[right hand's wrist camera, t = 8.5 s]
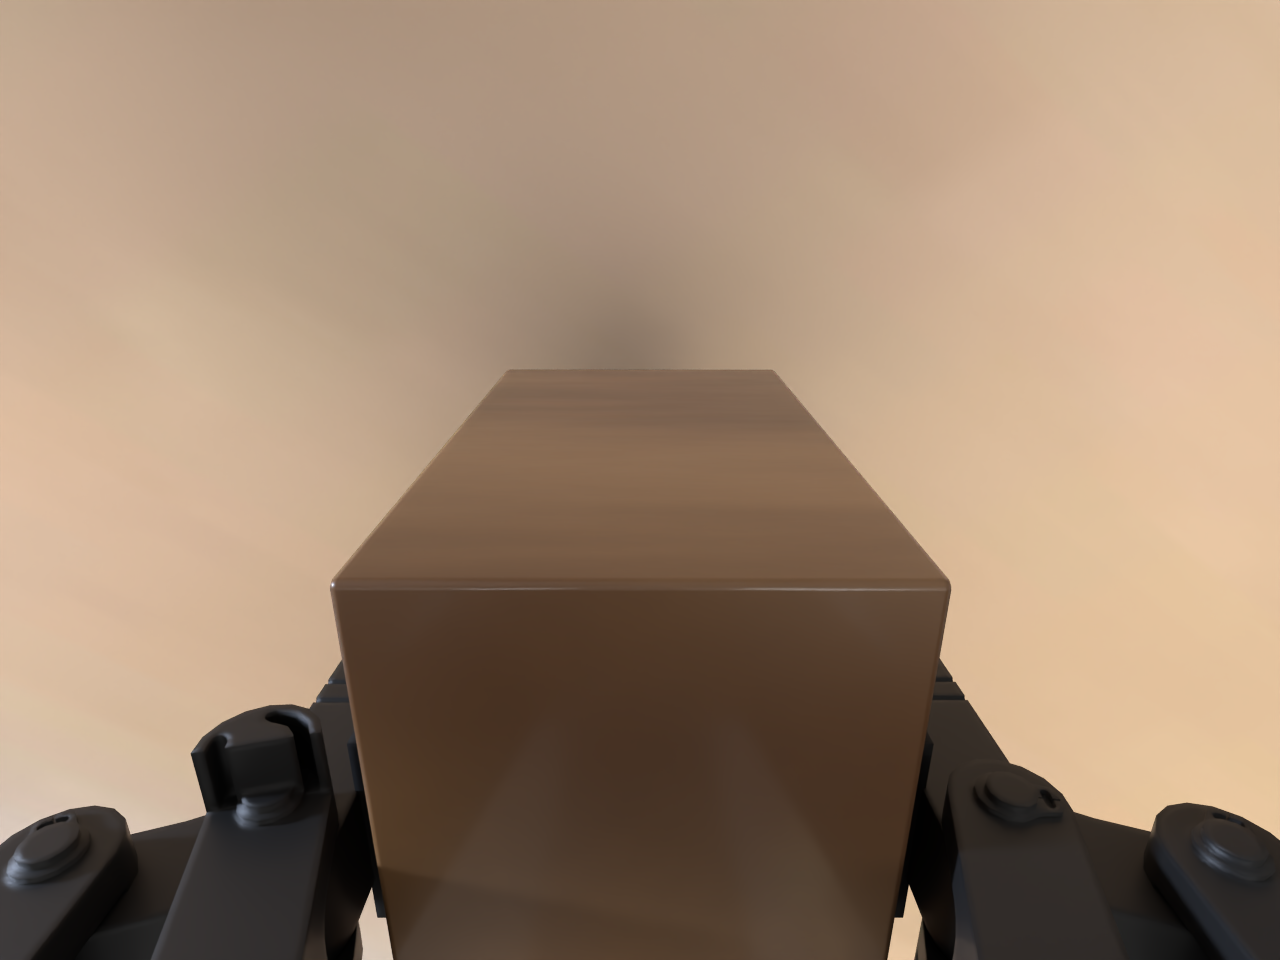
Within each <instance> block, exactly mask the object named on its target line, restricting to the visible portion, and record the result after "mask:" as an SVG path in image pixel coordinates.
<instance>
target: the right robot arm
mask: <svg viewBox="0 0 1280 960" xmlns="http://www.w3.org/2000/svg"><path fill="white" fill-rule="evenodd" d="M191 756H192V760H193V764H194V767H195V771H196V775H197V778H198V782H199V786H200V789H201V793H202V797H203V800H204V804H205V808H206V811H207V813H206V815H205V816H202V817H199V818H195V819H192V820H189V821H186V822H181V823H177V824H173V825H169V826H165V827H160V828H156V829H152V830H148V831H144V832H139V833H135V834H131V835H130V831H129V828H128V825H127V822H126V819H125V818H124V817H123V816H122V815H121V814H120V813H119V812H117V811H116V810H115V809H113V808H107V807H100V806H89V807H82V808H75V809H69V810H66V811H63V812H60V813H58V814H55V815H52V816H49V817H47V818H44V819H41V820H39V821H37V822H35V823H34V824H32V825H30V826H28V827H26V828H25V829H23V830H21V831H19V832H17V833H16V834H14V835H12V836H11V837H10V838H8V839H7V840H6V841H5V842H3V843H2V844H1V845H0V960H362V952H363V947H362V940H361V932H360V927H359V922H358V920H359V918H360V915H361V913H362V910H363V908H364V905H365V903H366V900H367V898H368V895H369V893H370V890H371V888H372V889H373V895H374V901H375V906H376V912H377V918H386V914H385V908H384V902H383V896H382V890H381V884H380V878H379V872H378V867H377V861H376V855H375V849H374V843H373V837H372V831H371V826H370V820H369V814H368V808H367V802H366V796H365V790H364V784H363V779H362V773H361V767H360V761H359V755H358V749H357V743H356V737H355V732H354V726H353V720H352V714H351V708H350V702H349V696H348V691H347V685H346V679H345V673H344V667H343V661H342V660H341V662H340V663H339V665H338V666H337V668H336V669H335V671H334V672H333V674H332V675H331V677H330V678H329V682H328V684H325V686H324V687H323V689H322V690H321V692H320V693H319V695H318V696H317V700H316V703H313V704H312V706H311V707H310V709H307V708H304V707H300V706H296V705H269V706H265V707H262V708H258V709H254V710H250V711H246V712H244V713H241V714H239V715H237V716H235V717H233V718H231V719H229V720H226V721H224V722H222V723H221V724H219V725H218V726H217V727H215V728H214V729H213V730H211V731H210V732H209V733H208V734H206V735H205V736H204V737H202V739H201V740H200V741H199V743H198V744H197V746H196V747H195V748H194V750H193V751H192V752H191ZM909 885H910V888H911V890H912V893H913V895H914V898H915V900H916V903H917V905H918V908H919V910H920V913H921V915H922V922H921V927H920V932H919V938H918V943H917V948H916V953H915V959H914V960H1280V840H1279V839H1277V838H1276V837H1275V836H1274V835H1272V834H1271V833H1270V832H1268V831H1266V830H1264V829H1263V828H1261V827H1259V826H1257V825H1255V824H1254V823H1252V822H1250V821H1248V820H1246V819H1245V818H1243V817H1241V816H1238V815H1235V814H1232V813H1229V812H1227V811H1224V810H1221V809H1218V808H1215V807H1213V806H1206V805H1199V804H1192V803H1182V804H1175V805H1169V806H1167V807H1165V808H1164V809H1163V810H1162V811H1161V812H1160V813H1159V814H1157V815H1156V818H1155V821H1154V824H1153V827H1152V830H1151V832H1150V831H1145V830H1141V829H1137V828H1133V827H1128V826H1124V825H1120V824H1116V823H1112V822H1107V821H1103V820H1099V819H1095V818H1092V817H1088V816H1085V815H1082V814H1079V813H1075V812H1073V810H1072V809H1071V807H1070V805H1069V804H1068V802H1067V801H1066V799H1065V798H1064V796H1063V794H1062V793H1060V792H1059V791H1058V790H1057V789H1056V788H1055V787H1053V786H1052V785H1051V784H1050V783H1049V782H1047V781H1046V780H1045V779H1044V778H1042V777H1040V776H1038V775H1036V774H1034V773H1033V772H1031V771H1029V770H1027V769H1025V768H1023V767H1021V766H1017V765H1014V764H1010V763H1009V761H1008V760H1007V758H1006V757H1005V755H1004V754H1003V752H1002V751H1001V749H1000V748H999V746H998V745H997V743H996V742H995V740H994V739H993V737H992V736H991V734H990V733H989V731H988V730H987V728H986V727H985V725H984V724H983V722H982V721H981V719H980V718H979V716H978V715H977V713H976V712H975V711H974V709H973V708H972V706H971V705H970V703H969V702H968V700H965V698H964V694H963V693H962V691H961V690H960V688H959V687H958V685H957V684H956V682H953V680H952V676H951V675H950V673H949V672H948V670H947V669H946V667H945V666H944V664H943V663H942V661H941V660H940V658H939V663H938V669H937V674H936V680H935V686H934V692H933V698H932V703H931V709H930V715H929V721H928V727H927V732H926V738H925V744H924V750H923V755H922V761H921V767H920V773H919V779H918V784H917V790H916V796H915V802H914V808H913V813H912V819H911V825H910V831H909V836H908V842H907V848H906V854H905V860H904V865H903V871H902V877H901V883H900V889H899V894H898V900H897V906H896V912H895V917H894V918H903V915H904V909H905V903H906V898H907V892H908V887H909Z"/></svg>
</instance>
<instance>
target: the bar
mask: <svg viewBox="0 0 1280 960" xmlns="http://www.w3.org/2000/svg"><path fill="white" fill-rule="evenodd" d="M330 591H331V597H332V602H333V608H334V614H335V620H336V626H337V632H338V638H339V644H340V649H341V655H342V661H343V667H344V673H345V679H346V685H347V691H348V696H349V702H350V708H351V714H352V720H353V726H354V732H355V737H356V743H357V749H358V755H359V761H360V767H361V773H362V779H363V784H364V790H365V796H366V802H367V808H368V814H369V820H370V826H371V831H372V837H373V843H374V849H375V855H376V861H377V867H378V872H379V878H380V884H381V890H382V896H383V902H384V908H385V914H386V919H387V925H388V931H389V937H390V943H391V949H392V955H393V960H887V958H888V952H889V946H890V941H891V935H892V929H893V923H894V917H895V912H896V906H897V900H898V894H899V889H900V883H901V877H902V871H903V865H904V860H905V854H906V848H907V842H908V836H909V831H910V825H911V819H912V813H913V808H914V802H915V796H916V790H917V784H918V779H919V773H920V767H921V761H922V755H923V750H924V744H925V738H926V732H927V727H928V721H929V715H930V709H931V703H932V698H933V692H934V686H935V680H936V674H937V669H938V663H939V657H940V651H941V646H942V640H943V634H944V628H945V622H946V617H947V611H948V605H949V599H950V593H951V585H950V581H949V579H948V578H947V577H946V576H945V575H944V573H943V572H942V571H941V570H940V569H939V567H938V566H937V565H936V564H935V563H934V561H933V560H932V559H931V558H930V557H929V555H928V554H927V553H926V552H925V551H924V549H923V548H922V547H921V546H920V545H919V544H918V542H917V541H916V540H915V539H914V538H913V536H912V535H911V534H910V533H909V532H908V530H907V529H906V528H905V527H904V526H903V524H902V523H901V522H900V521H899V520H898V518H897V517H896V516H895V515H894V514H893V512H892V511H891V510H890V509H889V508H888V506H887V505H886V504H885V503H884V502H883V501H882V499H881V498H880V497H879V496H878V495H877V493H876V492H875V491H874V490H873V489H872V487H871V486H870V485H869V484H868V483H867V481H866V480H865V479H864V478H863V477H862V475H861V474H860V473H859V472H858V471H857V469H856V468H855V467H854V466H853V465H852V463H851V462H850V461H849V460H848V459H847V457H846V456H845V455H844V454H843V453H842V452H841V450H840V449H839V448H838V447H837V446H836V444H835V443H834V442H833V441H832V440H831V438H830V437H829V436H828V435H827V434H826V432H825V431H824V430H823V429H822V428H821V426H820V425H819V424H818V423H817V422H816V420H815V419H814V418H813V417H812V416H811V414H810V413H809V412H808V411H807V410H806V408H805V407H804V406H803V405H802V404H801V403H800V401H799V400H798V399H797V398H796V397H795V395H794V394H793V393H792V392H791V391H790V389H789V388H788V387H787V386H786V385H785V383H784V382H783V381H782V380H781V379H780V377H779V376H778V375H777V374H776V373H775V371H773V370H508V371H506V373H505V374H504V375H503V376H502V377H501V379H500V380H499V381H498V382H497V383H496V385H495V386H494V387H493V388H492V389H491V391H490V392H489V393H488V394H487V395H486V396H485V398H484V399H483V400H482V401H481V402H480V404H479V405H478V406H477V407H476V408H475V410H474V411H473V412H472V413H471V414H470V416H469V417H468V418H467V419H466V420H465V422H464V423H463V424H462V425H461V426H460V428H459V429H458V430H457V431H456V432H455V434H454V435H453V436H452V437H451V438H450V439H449V441H448V442H447V443H446V444H445V445H444V447H443V448H442V449H441V450H440V451H439V453H438V454H437V455H436V456H435V457H434V459H433V460H432V461H431V462H430V463H429V465H428V466H427V467H426V468H425V469H424V471H423V472H422V473H421V474H420V475H419V477H418V478H417V479H416V480H415V481H414V482H413V484H412V485H411V486H410V487H409V488H408V490H407V491H406V492H405V493H404V494H403V496H402V497H401V498H400V499H399V500H398V502H397V503H396V504H395V505H394V506H393V508H392V509H391V510H390V511H389V512H388V514H387V515H386V516H385V517H384V518H383V520H382V521H381V522H380V523H379V524H378V525H377V527H376V528H375V529H374V530H373V531H372V533H371V534H370V535H369V536H368V537H367V539H366V540H365V541H364V542H363V543H362V545H361V546H360V547H359V548H358V549H357V551H356V552H355V553H354V554H353V555H352V557H351V558H350V559H349V560H348V561H347V563H346V564H345V565H344V566H343V567H342V568H341V570H340V571H339V572H338V573H337V574H336V576H335V577H334V578H333V579H332V582H331V585H330Z"/></svg>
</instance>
